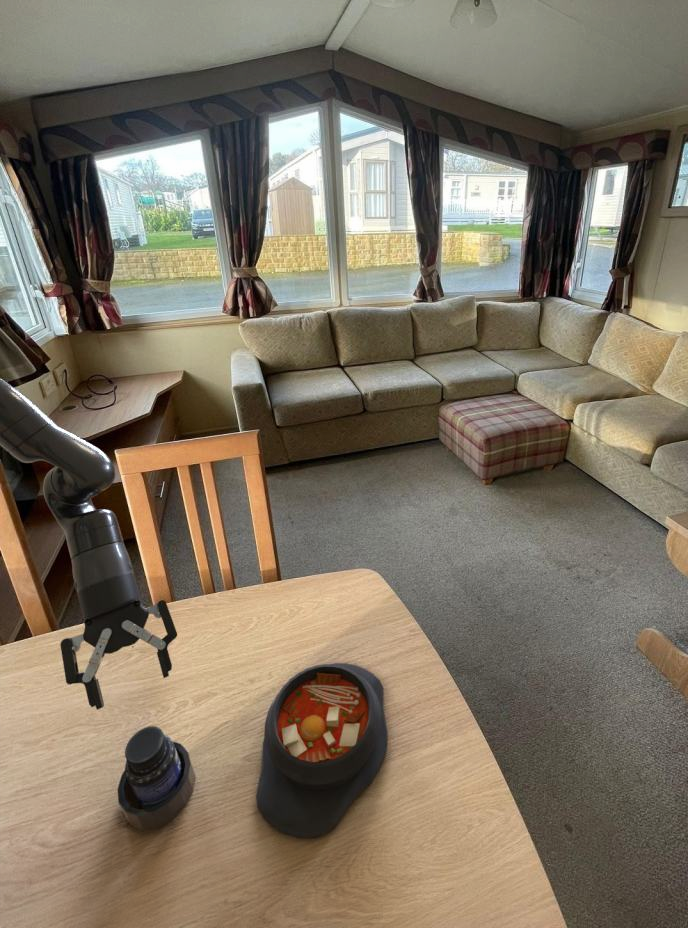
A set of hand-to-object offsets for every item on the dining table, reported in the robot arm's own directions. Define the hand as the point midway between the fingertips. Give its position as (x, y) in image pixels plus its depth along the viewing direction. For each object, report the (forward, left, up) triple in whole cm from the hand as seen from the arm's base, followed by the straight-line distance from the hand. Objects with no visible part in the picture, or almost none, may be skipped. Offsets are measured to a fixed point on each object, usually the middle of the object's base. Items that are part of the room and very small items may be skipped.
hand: (134, 692), depth 68 cm
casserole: (+26, -4, -13) cm, 29 cm away
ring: (+3, -7, -12) cm, 15 cm away
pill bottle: (+3, -7, -12) cm, 14 cm away
